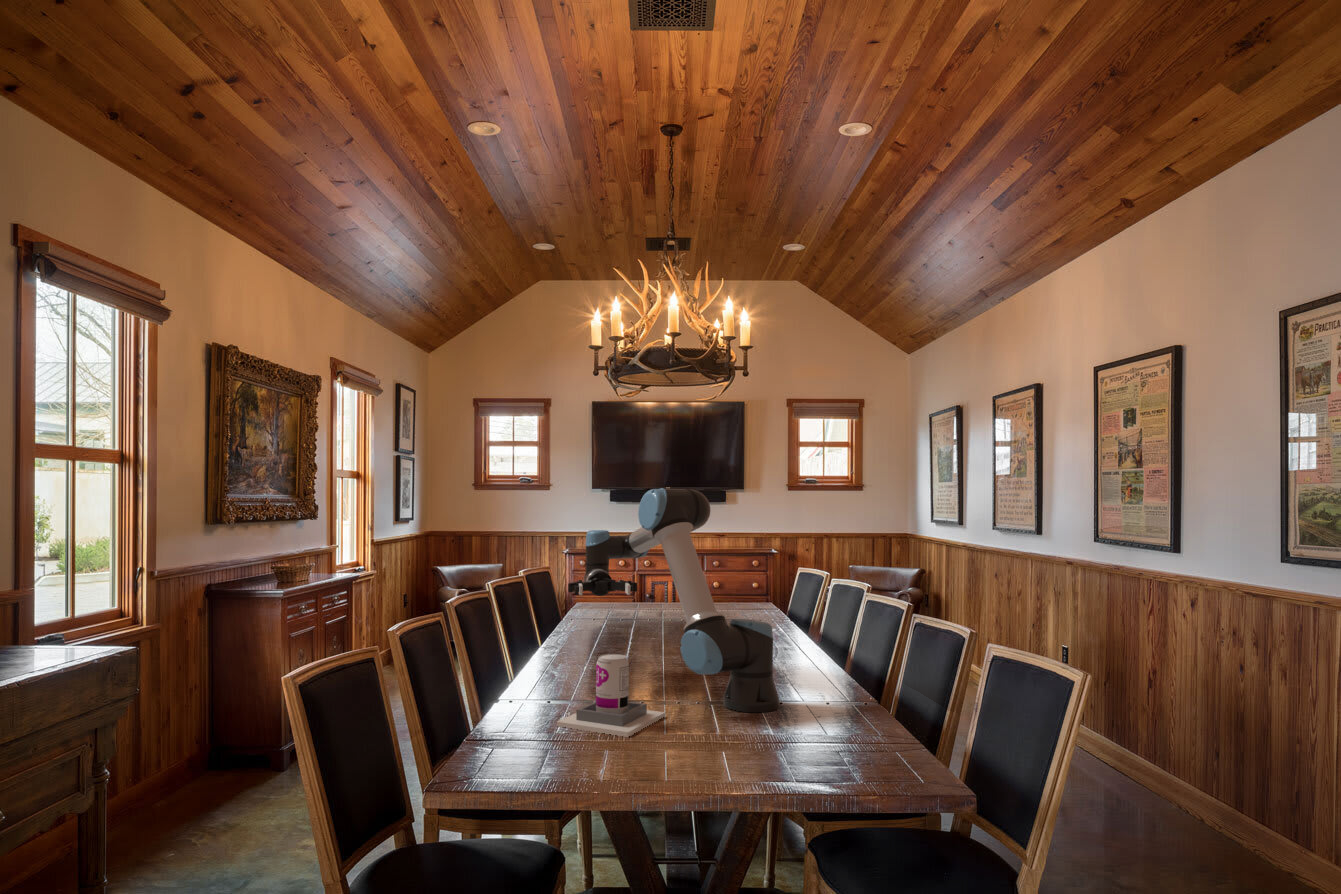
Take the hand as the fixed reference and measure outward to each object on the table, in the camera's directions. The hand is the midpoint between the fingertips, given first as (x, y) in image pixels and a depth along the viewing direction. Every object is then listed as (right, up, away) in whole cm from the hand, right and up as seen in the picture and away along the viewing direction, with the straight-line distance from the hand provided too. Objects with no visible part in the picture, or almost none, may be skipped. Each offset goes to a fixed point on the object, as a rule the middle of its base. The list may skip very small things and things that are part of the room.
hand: (605, 590), depth 235 cm
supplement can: (+4, -28, -26) cm, 38 cm away
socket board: (+4, -29, -26) cm, 39 cm away
